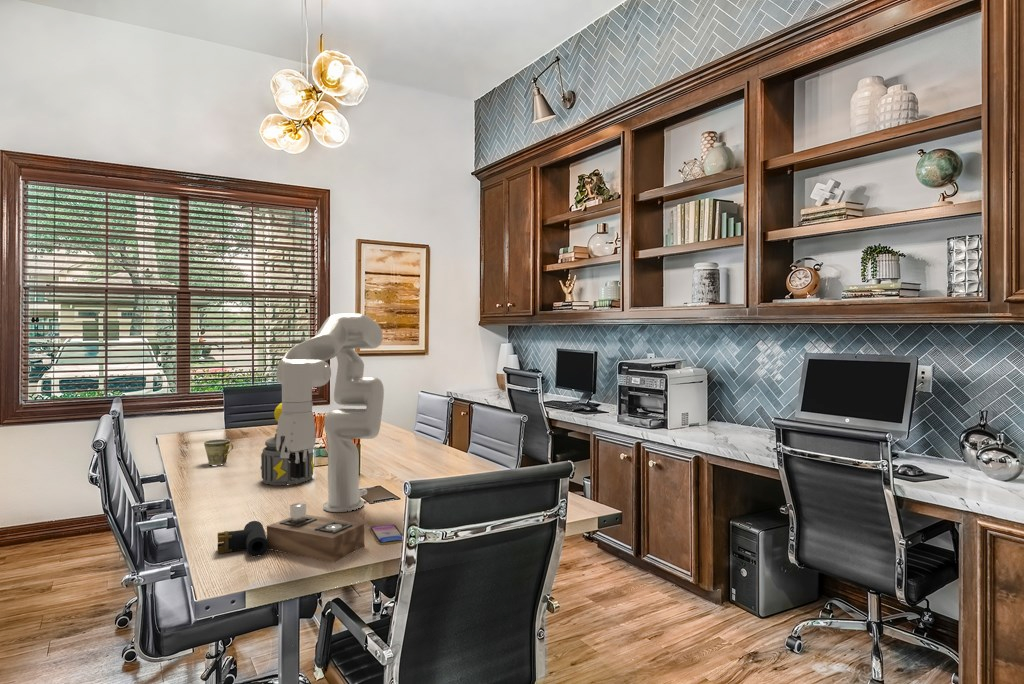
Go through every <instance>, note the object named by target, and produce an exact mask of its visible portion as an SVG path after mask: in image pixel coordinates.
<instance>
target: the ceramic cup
mask: <svg viewBox="0 0 1024 684" xmlns="http://www.w3.org/2000/svg"><path fill="white" fill-rule="evenodd" d="M203 444H204V445H203V446H204V449H205V452H206V456H207V461H208V466H209V465H221V464H225V463H226V464H227V458H228V454H230V452H231V451H233V449H234V445H233V444H232V443H231V440H230V439H227V438H221V439H220V438H215V439H210V440H209V439H208V440H206V441H203ZM230 446H231V449H230V450H229V448H230Z"/></svg>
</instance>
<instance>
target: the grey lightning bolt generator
mask: <svg viewBox="0 0 1024 684" xmlns="http://www.w3.org/2000/svg"><path fill="white" fill-rule="evenodd" d="M273 412H274V415H273V416H274V419H275V421H276V422H277V423H278V420H279V416H280V415H281V414H282V402H280V403H279V404H278V405H277V406H276V407H275V409H274V411H273ZM275 432H276V433H275V435H274V436H273V437H270V438H269V439H266V440H265V443H264V445H265V447H264V448H263V449H262V453H261V454H260V460H261V461H260V464H261V465H260V471H261V474H260V475H261V479H262V482H263V484H265V483H266V484H265V485H267V484H270V485H269V486H272V485H287V484H296V483H301V484H303V483H302V482H304V483H306V482H305V481H307V482H309V481H311V480H312V478H313V475H314V469H315V464H314V455H315V454H314V451H313V452H311V453H309V454H308V455H307V457H306V461H305V462H304V477H302V478H292V477H291V463H289V461H288V459H287V458H281V457H280V455H281V452H278V451H277V449H276V438H277V429H275ZM293 455H294V454H293ZM310 479H311V480H310ZM308 480H309V481H308ZM296 485H297V484H296Z"/></svg>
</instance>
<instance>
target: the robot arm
mask: <svg viewBox="0 0 1024 684" xmlns="http://www.w3.org/2000/svg"><path fill="white" fill-rule="evenodd" d="M382 341H383V331H382V327H381V326H380V325H379V323H377V322H376V321H375V320H374V319H372V318H371V317H370V316H367V315H366V314H362V313H336V314H332V315H329V316H328V317H327V318H326V319H325V320H324V322H323V324H322V325H321V326H320V328H319V329H318V330H317V332H316V334H315V336H313V337H311V338H308V339H306V340H305V341H302V342H300V343H298V344H296V345H294V346H292V347H291V348H289V349H288V350H287V351H286V353H284V355H283V356H282V358H281V359H280V361H279V363H278V365H277V368H276V372H275V376H276V379H277V381H278V383H279V384H280V385H281V403H282V414H281V415H280V416H279V420H278V422H277V426H276V430H277V432H276V433H277V438H276V449H277V451H278V452H281V455H280V457H281V458H287V459H288V461H289V463H291V477H292V478H302V477H304V462H305V461H306V457H307V455H308V454H309V453H311V452H314V447H315V446H316V424H315V423H316V422H315V415H314V412H313V406H314V403H313V388H314V387H315V388H316V387H317V388H318V387H322V386H324V385H327V384H328V383H329V382H330V379H331V376H332V368H331V366H330V364H329V363H328V362H326V361H329V360H332V359H333V358H336V360H337V367H336V368H337V369H336V375H335V383H334V388H333V389H334V391H333V399H334V402H335V403H336V404H337V405H339V406H344V407H345V406H347V407H366V408H335V409H332V410H330V411H329V412H327V414H325V417H324V420H323V422H324V423H323V426H324V432H325V436H326V444H327V487H328V488H327V489H328V490H327V494H328V495H327V499H328V500H327V501H326V502H324V503H323V506H322V507H323V510H324V511H327V512H332V513H345V512H346V513H348V512H352V510H354V511H356V509H357V510H359V509H358V508H360V509H361V507H362V506H363V505H364V506H365V501H364V500H362V499H361V497H362V496H365V495H367V494H368V490H367V488H362V489H360V480H359V479H360V478H359V477H360V476H359V473H360V472H359V471H360V469H359V467H360V466H359V450H358V447H357V445H356V444H355V442H354V439H355V440H356V439H357V440H360V439H361V440H370V439H375V438H377V437H378V435H379V433H380V430H381V424H382V414H383V407H384V397H385V396H384V395H385V389H384V384H383V382H382V380H381V379H379V378H378V377H375V376H364V369H365V364H364V361H363V359H362V358H361V356H360V355H359V354H358V353H357V352H356V351H355V349H357V350H359V349H360V350H361V349H362V350H364V349H366V350H368V349H376V348H378V347H379V346H380V345H381V344H382ZM293 454H294V455H293ZM364 506H363V507H364ZM363 507H362V508H363ZM347 511H348V512H347Z"/></svg>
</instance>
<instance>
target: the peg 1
mask: <svg viewBox="0 0 1024 684" xmlns="http://www.w3.org/2000/svg"><path fill="white" fill-rule="evenodd" d="M289 512H290V513H289V514H290V516H289V518H290V523H295V524H297V525H298V524H300V523H303V522H305V521H306V514H307V503H304V502H296V503H292V504H290V506H289Z"/></svg>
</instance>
